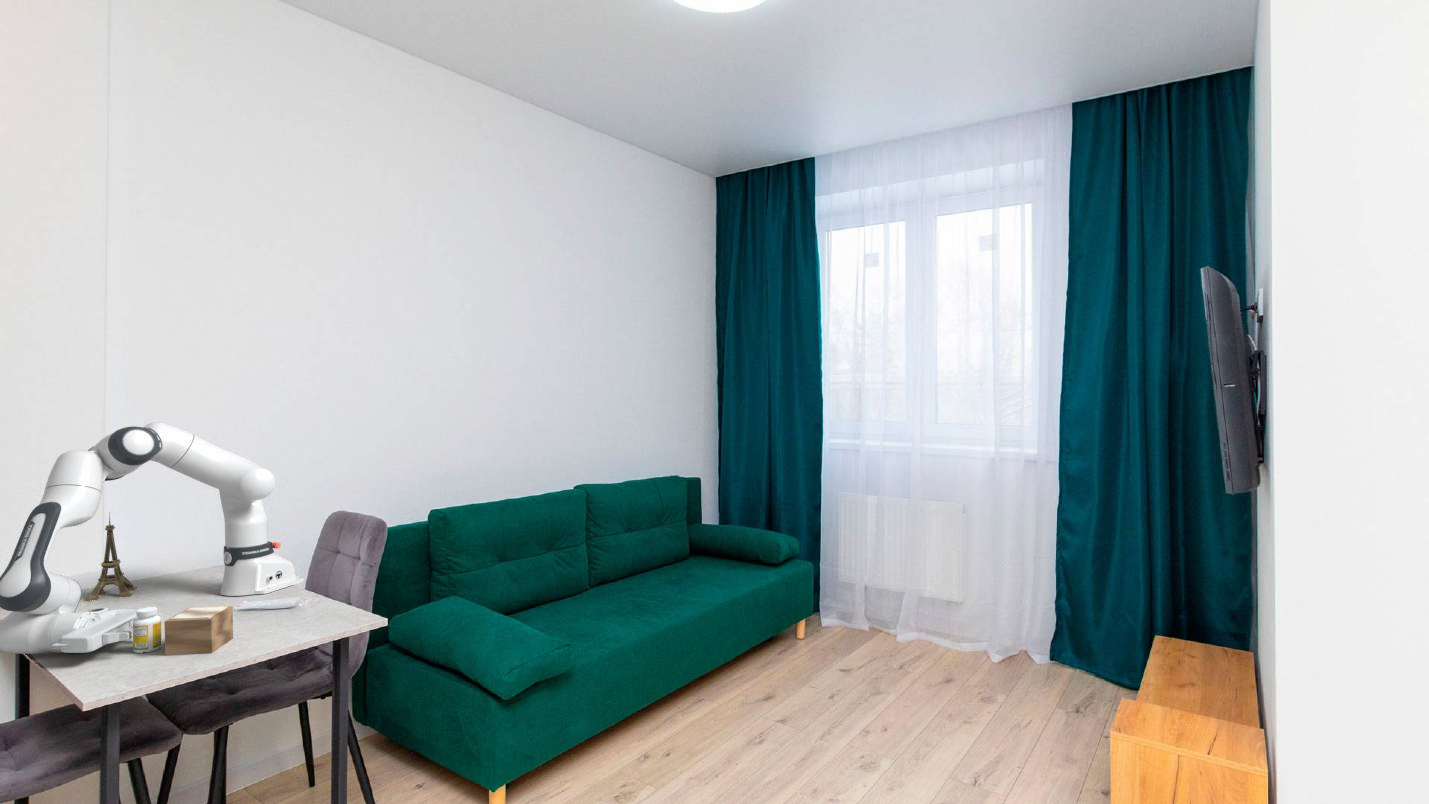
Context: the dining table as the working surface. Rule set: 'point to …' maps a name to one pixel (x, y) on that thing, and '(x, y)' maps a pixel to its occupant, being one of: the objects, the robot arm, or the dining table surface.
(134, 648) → the supplement bottle
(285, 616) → the dining table surface
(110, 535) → the eiffel tower
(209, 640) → the walnut block
